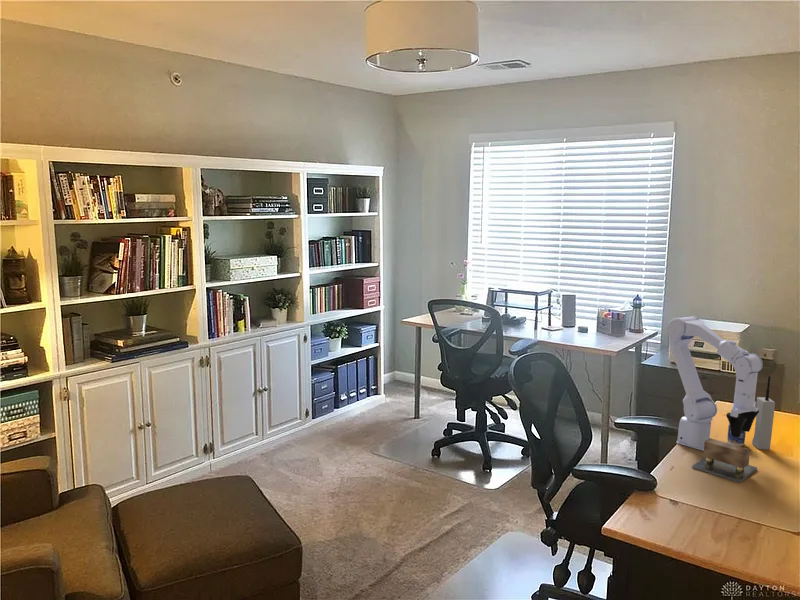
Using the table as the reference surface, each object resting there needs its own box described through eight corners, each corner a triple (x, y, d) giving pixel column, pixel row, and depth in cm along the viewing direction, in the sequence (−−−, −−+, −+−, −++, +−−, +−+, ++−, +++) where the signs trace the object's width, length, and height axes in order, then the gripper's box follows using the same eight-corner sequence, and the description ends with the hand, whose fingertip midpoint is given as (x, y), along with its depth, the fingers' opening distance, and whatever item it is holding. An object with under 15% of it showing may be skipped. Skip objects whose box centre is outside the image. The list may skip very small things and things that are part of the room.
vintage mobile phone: (763, 444, 223) (771, 373, 219) (769, 450, 218) (778, 378, 214) (751, 443, 223) (759, 373, 219) (758, 449, 218) (766, 377, 214)
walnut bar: (703, 456, 205) (704, 441, 204) (708, 453, 208) (709, 438, 207) (743, 468, 196) (745, 452, 195) (748, 464, 199) (750, 449, 198)
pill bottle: (726, 444, 222) (729, 417, 221) (727, 439, 227) (729, 412, 225) (744, 447, 220) (747, 419, 218) (744, 442, 225) (747, 415, 223)
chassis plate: (692, 467, 203) (692, 459, 202) (710, 456, 212) (711, 447, 212) (739, 483, 193) (740, 474, 192) (756, 469, 202) (757, 461, 202)
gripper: (749, 400, 197) (744, 443, 199) (767, 391, 206) (763, 431, 208) (725, 394, 202) (720, 436, 204) (744, 385, 211) (739, 425, 214)
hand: (740, 433), depth 207 cm, fingers open, 7 cm apart
